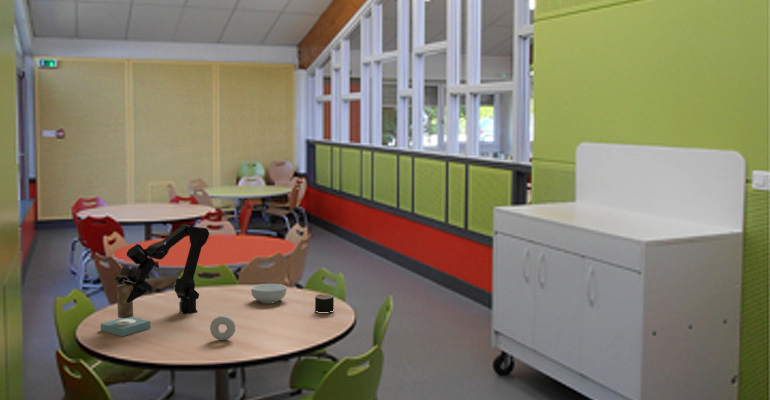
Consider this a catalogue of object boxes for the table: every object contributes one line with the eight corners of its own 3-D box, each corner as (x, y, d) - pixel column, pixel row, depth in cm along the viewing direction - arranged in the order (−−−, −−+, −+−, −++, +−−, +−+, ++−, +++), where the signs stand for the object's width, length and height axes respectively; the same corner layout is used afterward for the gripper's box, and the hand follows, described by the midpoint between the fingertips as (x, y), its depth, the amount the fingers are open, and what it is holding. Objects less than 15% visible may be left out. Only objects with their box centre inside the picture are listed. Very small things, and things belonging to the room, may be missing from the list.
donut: (236, 338, 293) (235, 314, 292) (235, 341, 290) (234, 316, 289) (210, 339, 292) (210, 314, 291) (209, 341, 289) (209, 317, 288)
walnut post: (135, 314, 306) (134, 284, 305) (130, 318, 300) (129, 287, 299) (121, 314, 306) (119, 283, 305) (115, 318, 301) (114, 287, 299)
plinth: (129, 322, 314) (129, 315, 313) (150, 328, 306) (150, 320, 306) (100, 330, 302) (100, 323, 302) (122, 336, 294) (122, 328, 294)
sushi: (322, 314, 329) (322, 297, 328) (311, 311, 335) (311, 294, 334) (336, 311, 334) (336, 294, 333) (326, 308, 340) (326, 291, 339)
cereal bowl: (293, 300, 354) (293, 285, 353) (270, 307, 340) (270, 292, 339) (267, 295, 363) (267, 281, 362) (244, 302, 349) (243, 287, 348)
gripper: (117, 257, 309) (95, 287, 301) (146, 262, 299) (124, 294, 291) (133, 271, 317) (112, 302, 309) (162, 277, 306) (141, 308, 299)
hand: (122, 301), depth 302 cm, fingers closed on walnut post, 6 cm apart
